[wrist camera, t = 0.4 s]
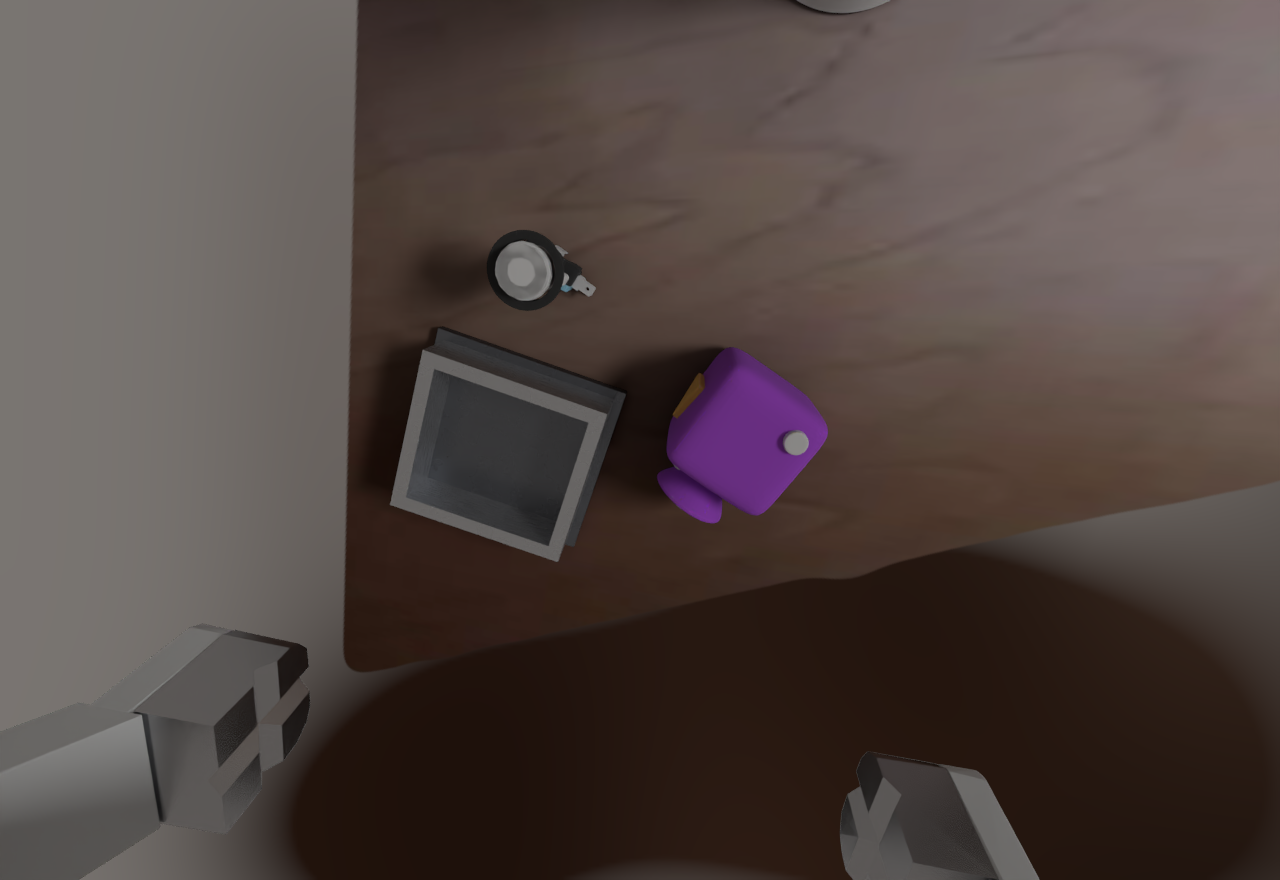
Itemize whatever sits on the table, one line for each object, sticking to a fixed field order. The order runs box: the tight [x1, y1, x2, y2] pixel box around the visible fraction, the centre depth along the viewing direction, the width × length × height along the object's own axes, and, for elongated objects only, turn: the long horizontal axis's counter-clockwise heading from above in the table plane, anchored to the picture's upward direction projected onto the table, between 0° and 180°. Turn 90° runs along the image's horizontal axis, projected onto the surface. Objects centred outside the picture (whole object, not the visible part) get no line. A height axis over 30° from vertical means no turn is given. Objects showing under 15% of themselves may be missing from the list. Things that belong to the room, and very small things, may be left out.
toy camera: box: [657, 347, 828, 523], centre depth 48 cm, size 11×14×10 cm
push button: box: [487, 230, 596, 311], centre depth 45 cm, size 7×5×10 cm
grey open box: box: [390, 326, 627, 562], centre depth 52 cm, size 16×17×6 cm
